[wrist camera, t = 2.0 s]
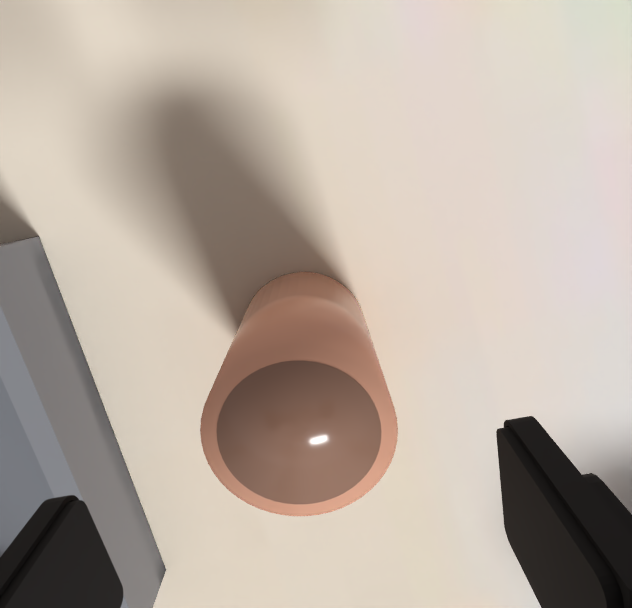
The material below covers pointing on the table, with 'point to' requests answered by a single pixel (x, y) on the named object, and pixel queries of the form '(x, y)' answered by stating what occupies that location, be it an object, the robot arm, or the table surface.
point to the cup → (300, 402)
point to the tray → (61, 426)
